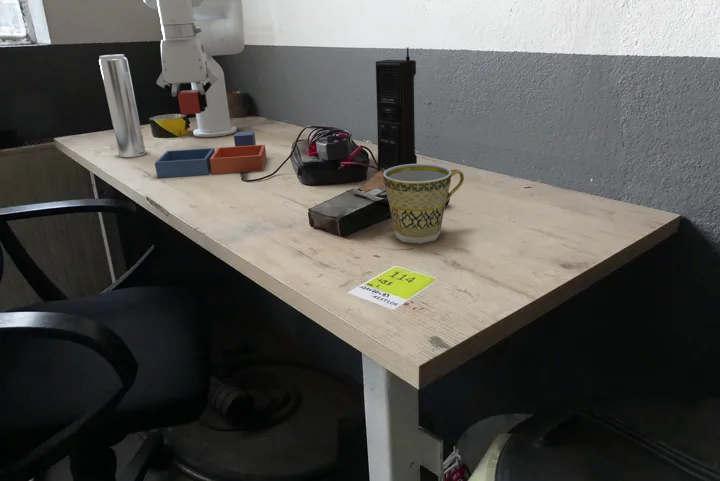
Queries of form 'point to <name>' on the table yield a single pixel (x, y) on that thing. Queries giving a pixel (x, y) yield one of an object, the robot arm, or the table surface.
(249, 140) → the blue block
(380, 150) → the portable radio
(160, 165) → the blue bin
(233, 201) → the table surface
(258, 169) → the red bin
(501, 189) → the table surface
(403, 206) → the ceramic cup
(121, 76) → the shiny metal cylinder
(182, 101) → the red block
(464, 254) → the table surface
